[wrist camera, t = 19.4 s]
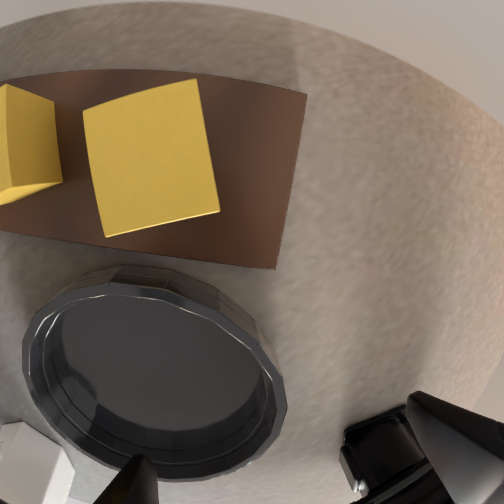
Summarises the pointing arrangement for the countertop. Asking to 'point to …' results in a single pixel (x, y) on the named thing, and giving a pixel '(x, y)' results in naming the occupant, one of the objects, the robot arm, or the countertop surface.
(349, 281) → the countertop surface
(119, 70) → the board
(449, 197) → the countertop surface
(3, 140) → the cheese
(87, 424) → the pan
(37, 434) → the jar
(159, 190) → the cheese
